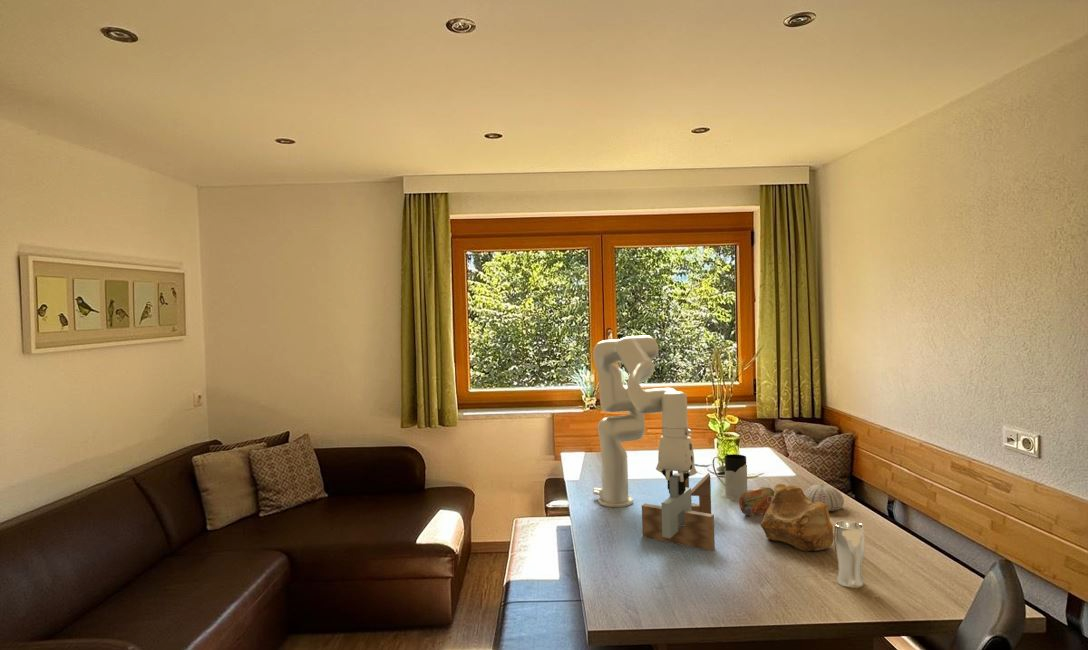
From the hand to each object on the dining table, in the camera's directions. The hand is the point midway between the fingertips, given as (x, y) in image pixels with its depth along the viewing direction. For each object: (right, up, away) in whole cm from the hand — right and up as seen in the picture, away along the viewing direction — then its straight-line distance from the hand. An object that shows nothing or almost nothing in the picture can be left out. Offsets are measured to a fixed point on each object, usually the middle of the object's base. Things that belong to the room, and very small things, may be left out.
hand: (676, 492), depth 190 cm
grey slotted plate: (0, -11, 0) cm, 11 cm away
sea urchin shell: (+57, -13, +28) cm, 65 cm away
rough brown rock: (+34, -15, -1) cm, 37 cm away
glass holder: (+29, -13, +45) cm, 55 cm away
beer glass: (+38, -15, -30) cm, 51 cm away
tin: (+33, -14, +25) cm, 43 cm away
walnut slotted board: (0, -15, +1) cm, 15 cm away
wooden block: (+11, -14, +25) cm, 31 cm away
